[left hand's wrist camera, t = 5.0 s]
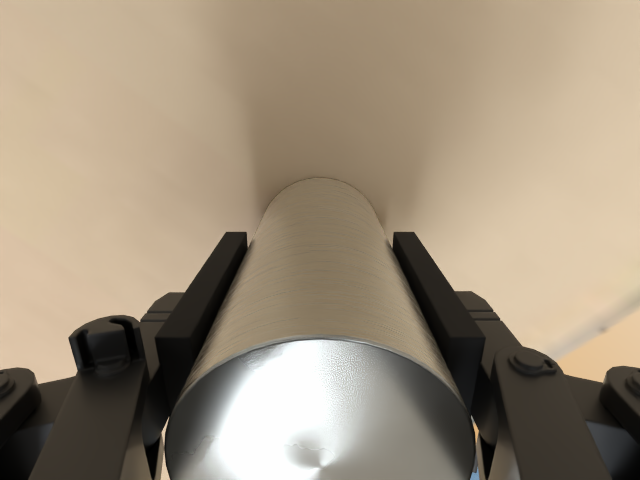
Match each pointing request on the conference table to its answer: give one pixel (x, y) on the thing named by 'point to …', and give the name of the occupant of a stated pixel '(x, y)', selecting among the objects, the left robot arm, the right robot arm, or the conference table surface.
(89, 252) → the conference table surface
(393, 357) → the canister
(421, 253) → the left robot arm
